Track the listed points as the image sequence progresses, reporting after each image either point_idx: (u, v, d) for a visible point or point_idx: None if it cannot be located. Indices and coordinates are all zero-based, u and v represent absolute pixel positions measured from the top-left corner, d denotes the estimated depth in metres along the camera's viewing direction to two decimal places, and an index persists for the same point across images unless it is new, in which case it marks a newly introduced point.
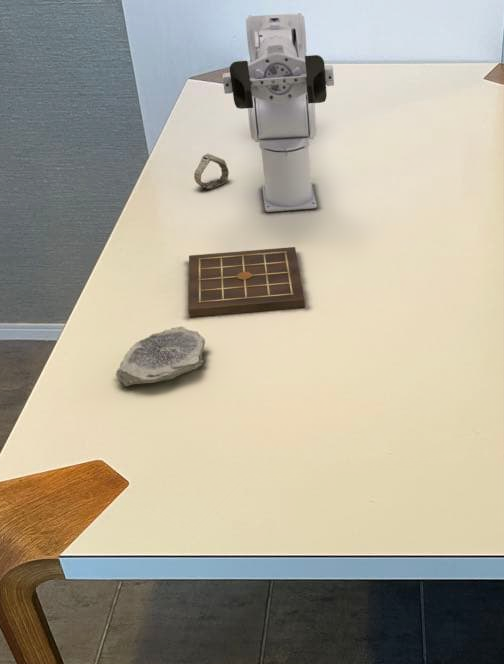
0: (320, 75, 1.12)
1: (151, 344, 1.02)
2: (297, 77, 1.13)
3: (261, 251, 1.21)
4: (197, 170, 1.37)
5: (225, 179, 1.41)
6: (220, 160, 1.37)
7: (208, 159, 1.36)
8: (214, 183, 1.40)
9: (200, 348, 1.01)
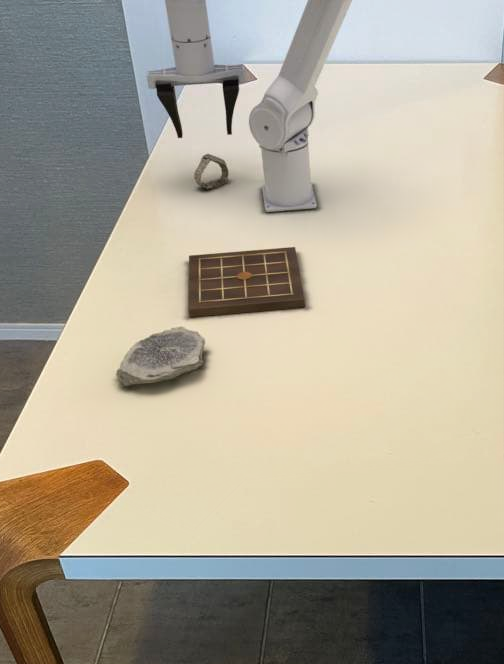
0: None
1: (151, 344, 1.02)
2: None
3: (261, 251, 1.21)
4: (197, 170, 1.37)
5: (225, 179, 1.41)
6: (220, 160, 1.37)
7: (208, 159, 1.36)
8: (214, 183, 1.40)
9: (200, 348, 1.01)
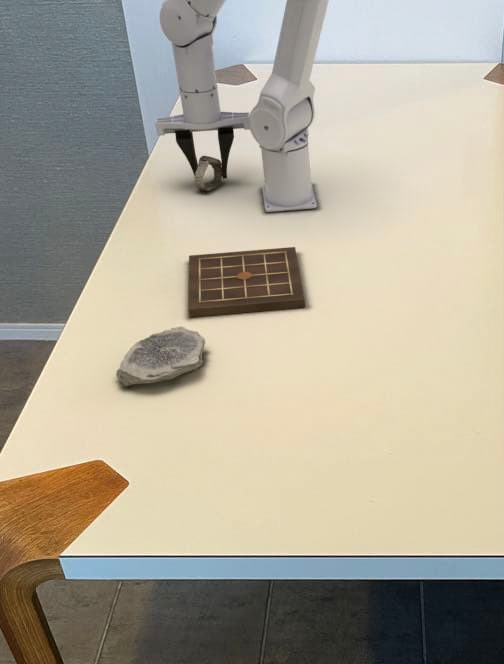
0: None
1: (151, 344, 1.02)
2: None
3: (261, 251, 1.21)
4: (197, 173, 1.36)
5: (220, 180, 1.41)
6: (218, 161, 1.37)
7: (207, 161, 1.36)
8: (211, 185, 1.39)
9: (200, 348, 1.01)
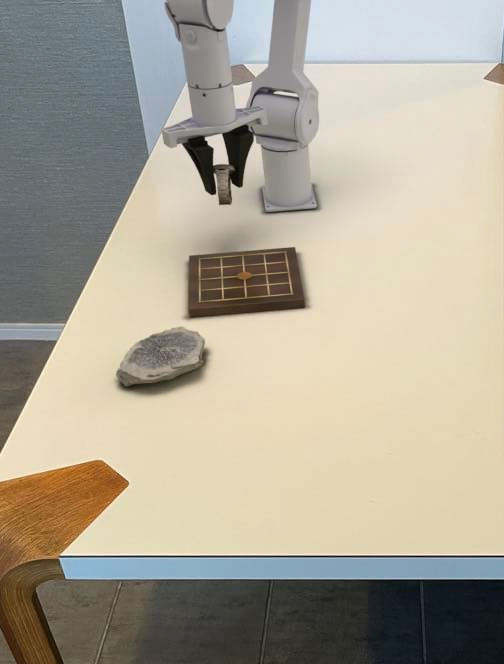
0: None
1: (151, 344, 1.02)
2: None
3: (261, 251, 1.21)
4: (221, 185, 1.15)
5: (229, 191, 1.20)
6: (233, 167, 1.17)
7: (227, 169, 1.15)
8: None
9: (200, 348, 1.01)
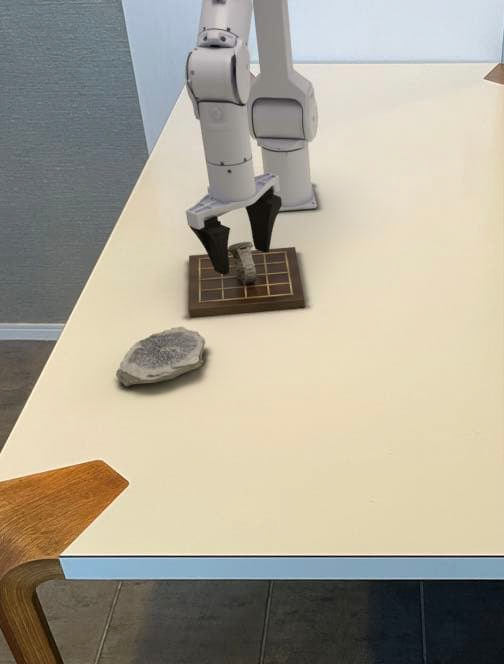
0: None
1: (151, 344, 1.02)
2: None
3: (261, 251, 1.21)
4: (247, 264, 1.11)
5: None
6: (251, 243, 1.13)
7: (248, 247, 1.12)
8: None
9: (200, 348, 1.01)
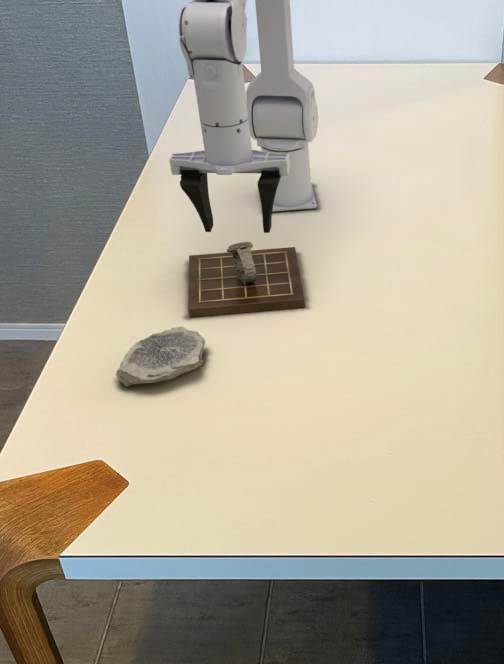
0: None
1: (151, 344, 1.02)
2: (250, 172, 1.06)
3: (261, 251, 1.21)
4: (247, 264, 1.11)
5: None
6: (251, 243, 1.13)
7: (248, 247, 1.12)
8: None
9: (200, 348, 1.01)
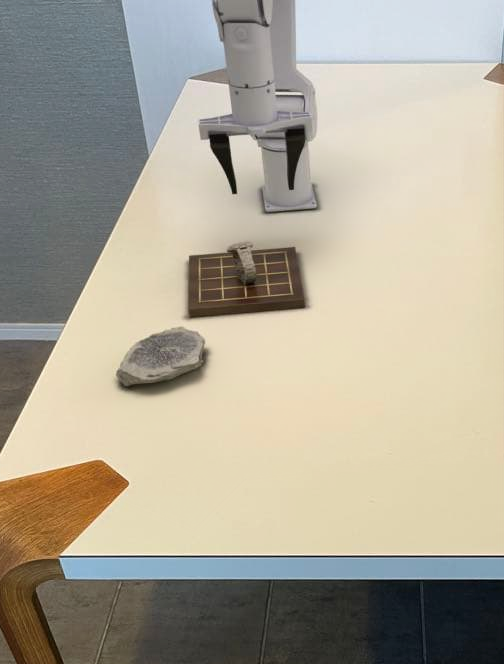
0: None
1: (151, 344, 1.02)
2: (276, 131, 1.11)
3: (261, 251, 1.21)
4: (247, 264, 1.11)
5: None
6: (251, 243, 1.13)
7: (248, 247, 1.12)
8: None
9: (200, 348, 1.01)
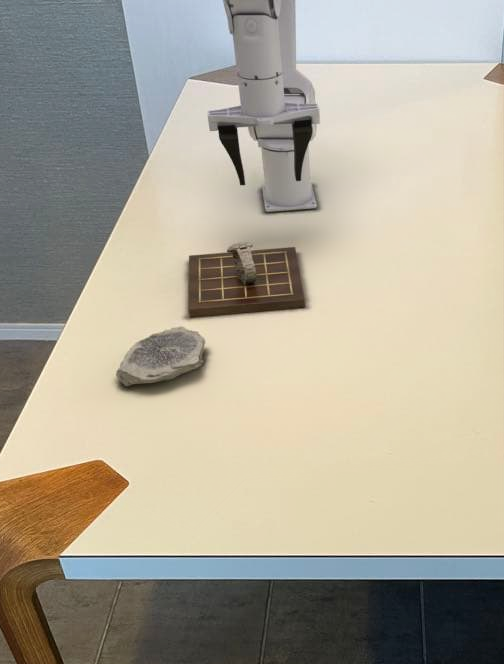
0: None
1: (151, 344, 1.02)
2: (283, 123, 1.13)
3: (261, 251, 1.21)
4: (247, 264, 1.11)
5: None
6: (251, 243, 1.13)
7: (248, 247, 1.12)
8: None
9: (200, 348, 1.01)
